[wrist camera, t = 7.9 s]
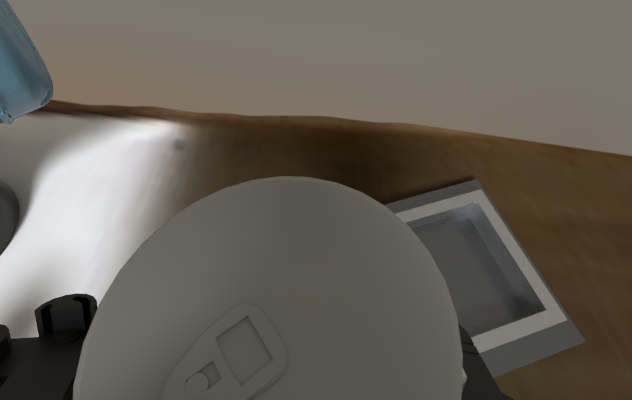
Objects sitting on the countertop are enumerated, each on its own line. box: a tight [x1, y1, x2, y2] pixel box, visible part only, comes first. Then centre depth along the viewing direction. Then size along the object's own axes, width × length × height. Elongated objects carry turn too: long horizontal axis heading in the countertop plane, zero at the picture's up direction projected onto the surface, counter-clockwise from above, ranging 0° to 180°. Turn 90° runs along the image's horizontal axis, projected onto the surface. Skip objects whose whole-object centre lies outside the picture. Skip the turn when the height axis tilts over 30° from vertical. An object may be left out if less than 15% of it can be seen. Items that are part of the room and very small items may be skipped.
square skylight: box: [384, 179, 586, 378], centre depth 29 cm, size 18×18×4 cm
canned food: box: [73, 176, 463, 400], centre depth 11 cm, size 8×8×11 cm
